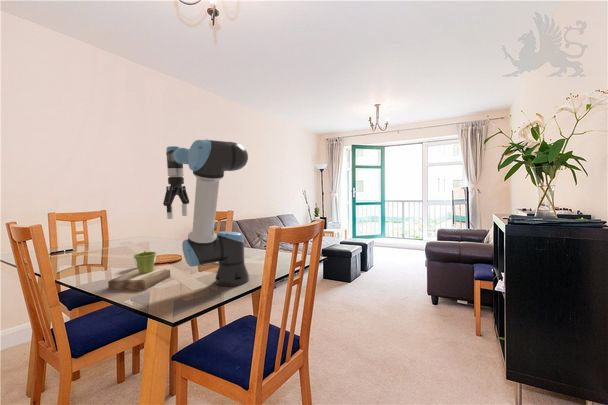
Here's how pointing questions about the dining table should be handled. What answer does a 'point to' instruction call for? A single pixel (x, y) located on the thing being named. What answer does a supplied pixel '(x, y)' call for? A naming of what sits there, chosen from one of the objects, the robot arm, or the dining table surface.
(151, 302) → the dining table surface
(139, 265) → the plant pot
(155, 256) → the lidded jar
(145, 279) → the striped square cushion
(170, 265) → the dining table surface
